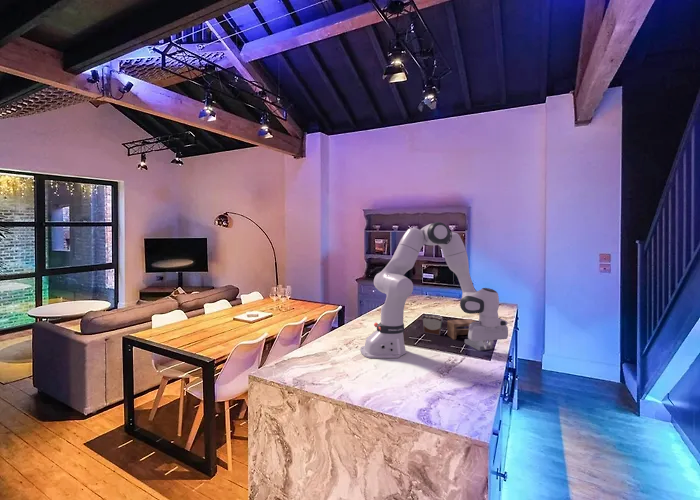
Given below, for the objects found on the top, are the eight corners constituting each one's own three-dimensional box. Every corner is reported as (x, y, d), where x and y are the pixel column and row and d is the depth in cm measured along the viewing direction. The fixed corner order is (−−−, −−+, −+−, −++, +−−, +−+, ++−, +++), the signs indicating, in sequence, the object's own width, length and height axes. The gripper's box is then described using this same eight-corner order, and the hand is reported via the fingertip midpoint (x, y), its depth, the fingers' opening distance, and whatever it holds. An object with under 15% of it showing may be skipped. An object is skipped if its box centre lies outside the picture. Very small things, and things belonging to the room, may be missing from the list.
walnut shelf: (453, 339, 199) (454, 324, 198) (446, 335, 207) (447, 320, 206) (478, 337, 202) (479, 322, 201) (470, 333, 210) (471, 319, 209)
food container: (445, 332, 211) (445, 316, 210) (442, 335, 206) (442, 318, 205) (425, 329, 217) (425, 313, 217) (421, 332, 212) (421, 315, 211)
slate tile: (479, 351, 182) (479, 346, 182) (464, 343, 193) (464, 339, 193) (492, 349, 185) (492, 345, 184) (477, 342, 196) (477, 337, 196)
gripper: (472, 323, 174) (471, 352, 175) (510, 321, 179) (509, 349, 180) (466, 320, 181) (465, 347, 182) (502, 318, 185) (501, 345, 186)
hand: (487, 348), depth 181 cm, fingers closed
